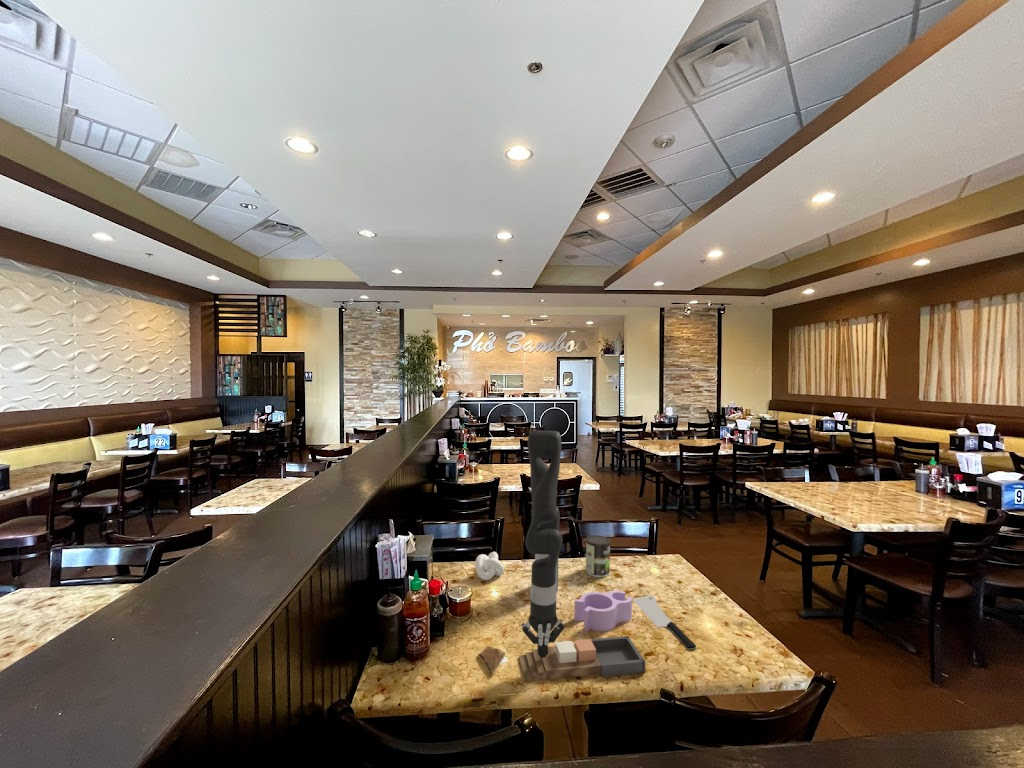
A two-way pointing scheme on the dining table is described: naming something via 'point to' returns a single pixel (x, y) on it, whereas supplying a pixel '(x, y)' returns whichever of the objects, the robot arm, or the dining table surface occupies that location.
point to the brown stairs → (532, 666)
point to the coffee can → (598, 556)
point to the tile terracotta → (585, 650)
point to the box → (618, 656)
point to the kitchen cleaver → (662, 619)
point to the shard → (491, 658)
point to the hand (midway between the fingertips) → (542, 655)
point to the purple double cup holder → (603, 610)
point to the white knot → (488, 566)
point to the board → (568, 667)
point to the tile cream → (565, 651)
